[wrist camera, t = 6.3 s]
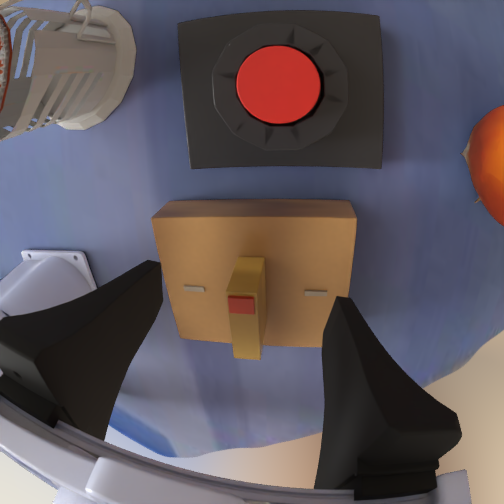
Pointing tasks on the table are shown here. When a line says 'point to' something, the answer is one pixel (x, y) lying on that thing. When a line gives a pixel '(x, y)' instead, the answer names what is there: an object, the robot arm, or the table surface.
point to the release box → (304, 129)
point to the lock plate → (256, 245)
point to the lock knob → (247, 307)
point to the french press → (64, 67)
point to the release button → (278, 84)
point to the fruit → (488, 161)
